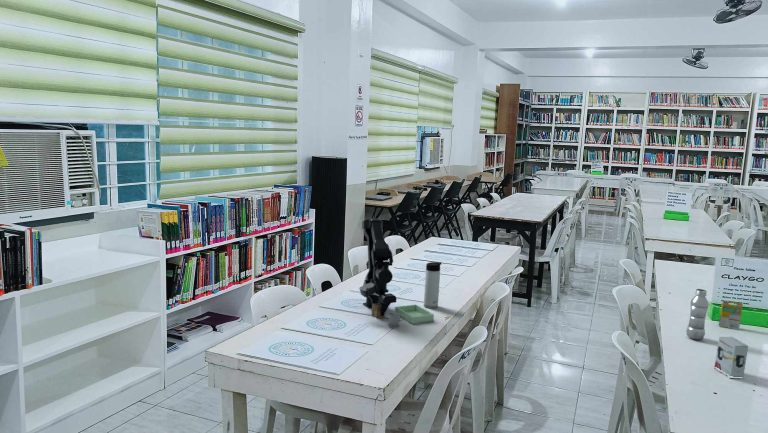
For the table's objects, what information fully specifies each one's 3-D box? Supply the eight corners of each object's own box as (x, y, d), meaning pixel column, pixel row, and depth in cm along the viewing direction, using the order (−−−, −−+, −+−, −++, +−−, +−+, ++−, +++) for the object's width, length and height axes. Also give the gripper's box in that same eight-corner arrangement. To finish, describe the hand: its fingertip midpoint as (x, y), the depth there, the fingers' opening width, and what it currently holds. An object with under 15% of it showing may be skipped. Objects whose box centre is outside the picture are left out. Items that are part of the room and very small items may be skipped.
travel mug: (437, 309, 250) (440, 264, 247) (422, 307, 252) (425, 263, 248) (439, 305, 256) (442, 261, 253) (424, 303, 258) (427, 260, 254)
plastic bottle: (702, 337, 231) (708, 289, 228) (705, 343, 225) (712, 293, 222) (684, 334, 233) (690, 286, 230) (687, 340, 227) (693, 291, 224)
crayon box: (738, 328, 245) (742, 301, 243) (739, 330, 242) (743, 303, 240) (718, 324, 248) (722, 298, 246) (719, 326, 245) (723, 300, 243)
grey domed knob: (385, 325, 228) (386, 313, 227) (395, 323, 230) (396, 311, 229) (391, 329, 224) (392, 316, 223) (401, 327, 226) (402, 315, 225)
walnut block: (371, 315, 239) (372, 303, 238) (380, 314, 241) (380, 302, 240) (376, 318, 235) (376, 306, 235) (384, 317, 237) (385, 305, 236)
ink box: (713, 368, 201) (718, 335, 199) (726, 368, 201) (731, 336, 199) (730, 379, 192) (735, 345, 190) (743, 379, 193) (749, 345, 191)
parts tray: (395, 313, 242) (395, 306, 241) (415, 311, 247) (415, 304, 246) (412, 324, 230) (412, 317, 229) (433, 321, 235) (433, 314, 234)
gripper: (352, 273, 240) (351, 309, 242) (373, 284, 223) (371, 323, 226) (376, 270, 245) (374, 306, 247) (398, 282, 229) (396, 319, 231)
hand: (378, 313), depth 238 cm, fingers open, 6 cm apart
